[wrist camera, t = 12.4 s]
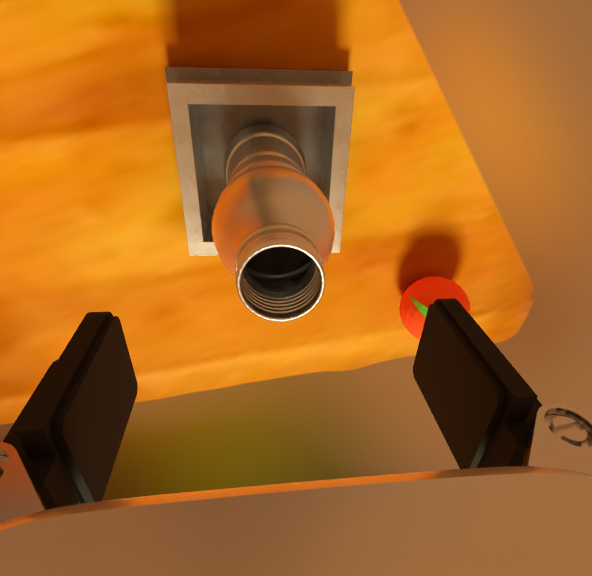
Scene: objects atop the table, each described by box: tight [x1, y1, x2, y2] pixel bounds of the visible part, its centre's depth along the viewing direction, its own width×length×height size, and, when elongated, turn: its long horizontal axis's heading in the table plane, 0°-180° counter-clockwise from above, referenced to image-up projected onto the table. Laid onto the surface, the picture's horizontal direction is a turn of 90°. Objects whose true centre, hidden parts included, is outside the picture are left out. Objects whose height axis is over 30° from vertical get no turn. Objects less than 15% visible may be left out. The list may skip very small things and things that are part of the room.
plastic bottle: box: [212, 124, 335, 322], centre depth 23 cm, size 6×7×20 cm
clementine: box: [400, 276, 470, 339], centre depth 39 cm, size 8×7×7 cm
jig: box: [165, 66, 355, 256], centre depth 31 cm, size 14×14×6 cm
